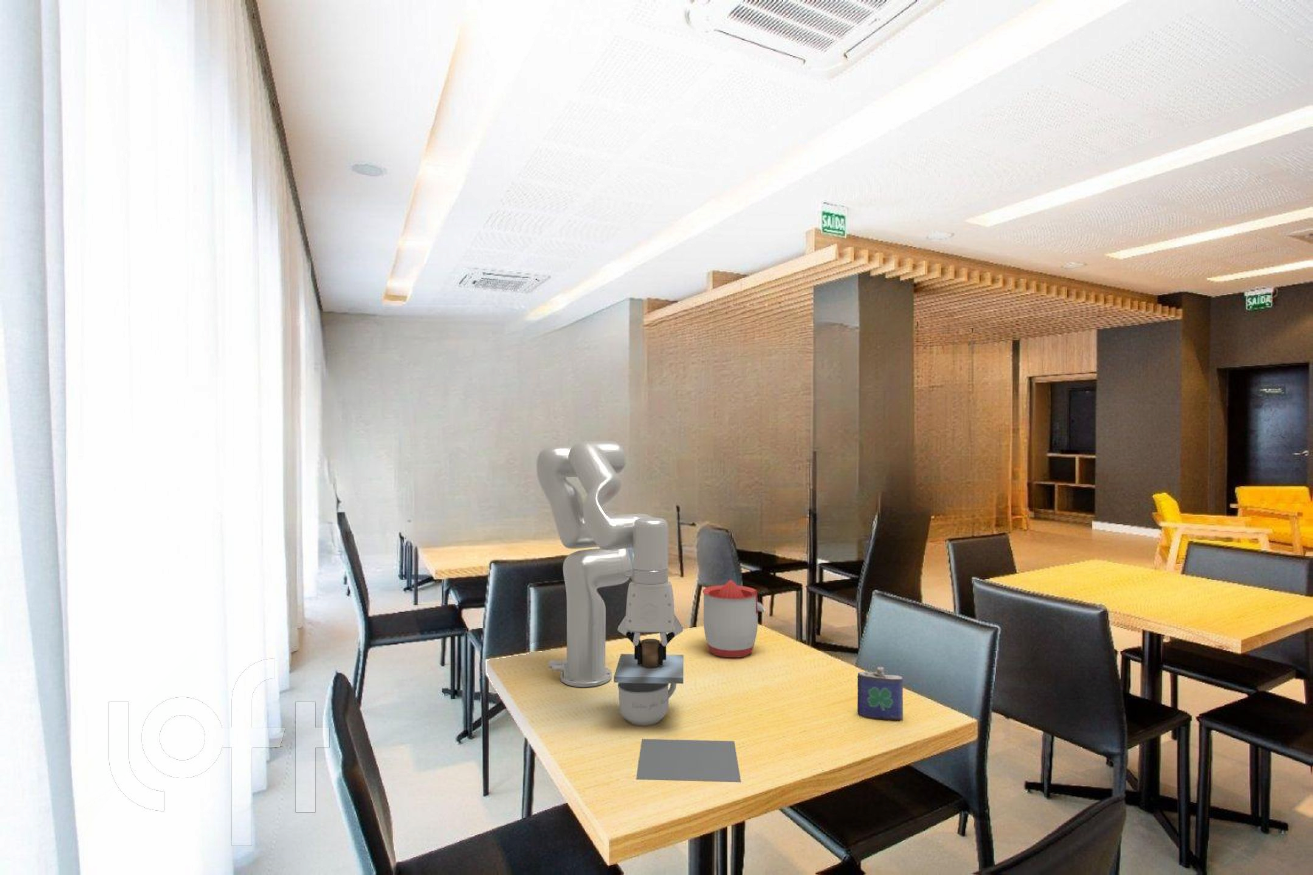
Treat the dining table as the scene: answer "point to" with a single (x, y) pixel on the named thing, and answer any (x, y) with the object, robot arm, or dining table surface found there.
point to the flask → (880, 695)
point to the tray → (688, 760)
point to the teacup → (644, 701)
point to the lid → (649, 666)
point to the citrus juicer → (731, 619)
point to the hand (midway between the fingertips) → (650, 661)
